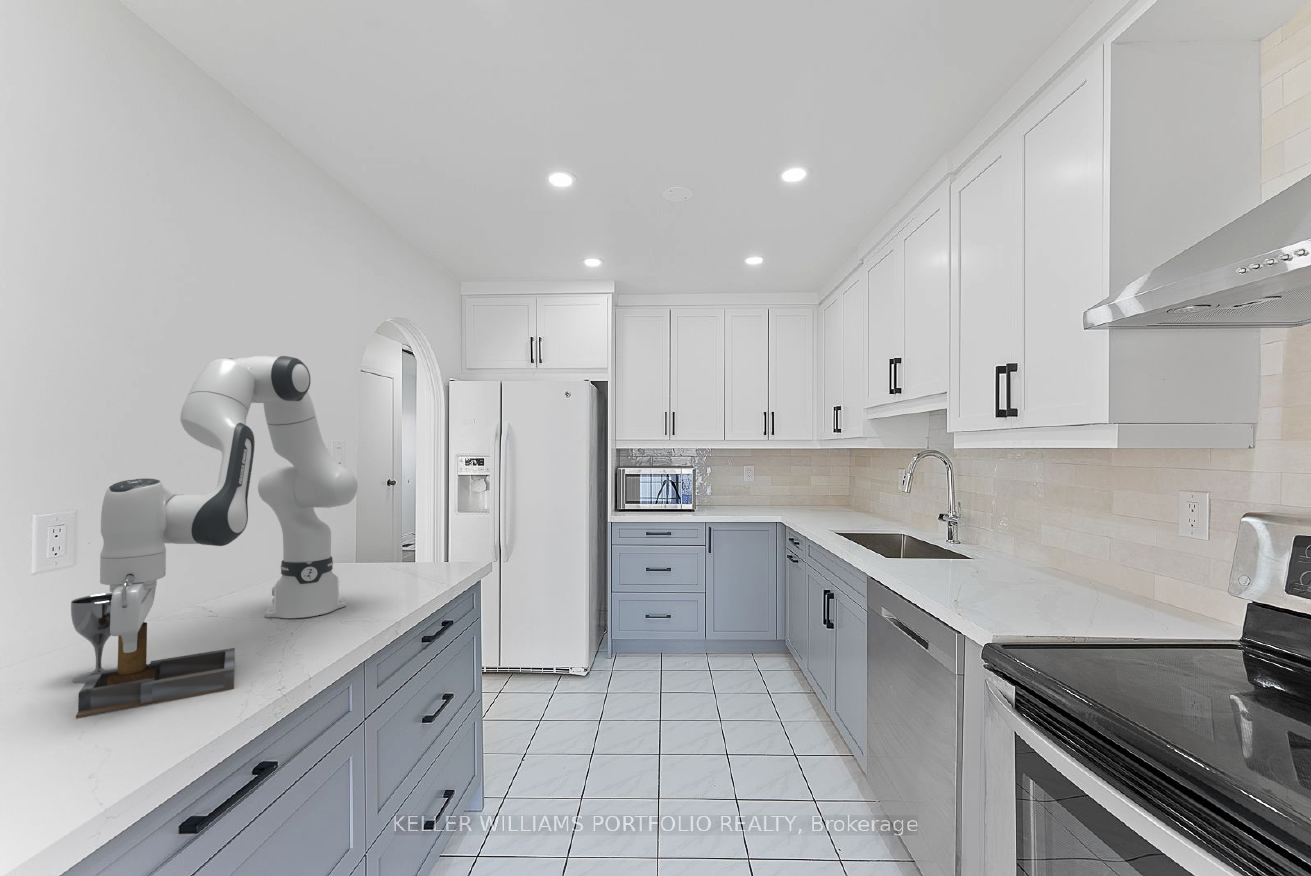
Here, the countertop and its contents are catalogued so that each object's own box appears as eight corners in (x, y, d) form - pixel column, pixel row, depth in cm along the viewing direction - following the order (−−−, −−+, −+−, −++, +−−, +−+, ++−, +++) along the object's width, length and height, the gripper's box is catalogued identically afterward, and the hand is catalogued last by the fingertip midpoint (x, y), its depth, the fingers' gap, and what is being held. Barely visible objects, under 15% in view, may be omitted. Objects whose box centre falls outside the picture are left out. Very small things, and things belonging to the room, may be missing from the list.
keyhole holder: (93, 689, 107) (93, 670, 107) (234, 664, 119) (234, 647, 119) (75, 718, 96) (76, 697, 96) (233, 688, 108) (234, 669, 108)
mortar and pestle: (126, 696, 101) (127, 592, 101) (96, 693, 103) (98, 590, 103) (165, 681, 108) (166, 583, 108) (137, 678, 109) (138, 581, 109)
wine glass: (59, 686, 108) (61, 605, 108) (82, 671, 116) (84, 595, 116) (114, 680, 111) (116, 601, 111) (133, 665, 119) (134, 591, 119)
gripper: (149, 578, 99) (148, 661, 99) (162, 558, 115) (161, 629, 115) (98, 583, 95) (97, 669, 95) (119, 562, 112) (118, 635, 112)
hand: (132, 647), depth 105 cm, fingers open, 4 cm apart
